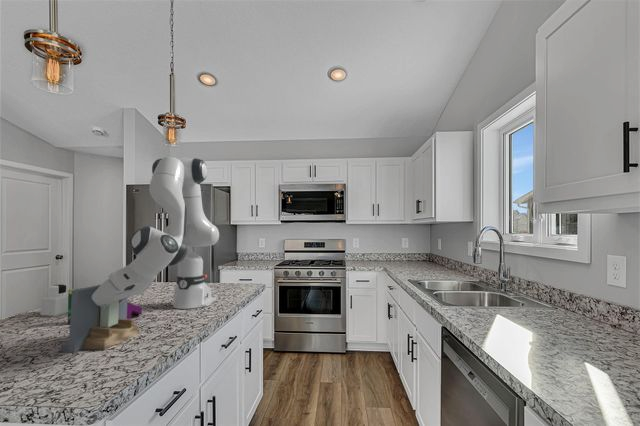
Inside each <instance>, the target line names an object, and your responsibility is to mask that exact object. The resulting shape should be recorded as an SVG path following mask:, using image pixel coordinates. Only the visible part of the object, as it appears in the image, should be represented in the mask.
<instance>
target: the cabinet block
mask: <svg viewBox="0 0 640 426" xmlns="http://www.w3.org/2000/svg"><path fill="white" fill-rule="evenodd" d="M118 313H119V300H117V301H114V302H111V303H109V306H108V307H107V308H105V309H101V314H100V327H110V326H112V325H115V324H118Z"/></svg>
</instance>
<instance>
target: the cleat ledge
mask: <svg viewBox="0 0 640 426" xmlns="http://www.w3.org/2000/svg"><path fill="white" fill-rule="evenodd" d="M134 322H135V320H134V319H133V318H130V319H118V324H115V325H114V327H112V328H101V327H93V328H91V333H90V336H89V337H87V338H84V349H86V350H90V349H91V350H99V349H100V350H101V351H105V350H107V349H109V348H111V347H113V345H114V346H115V344H116V345H118V344H119V343H122V342H124V341H125V340H128V339H131V338H132V336H133V337H135V336H137V335H139V334H138V333H139V325H138V324H135V323H134Z"/></svg>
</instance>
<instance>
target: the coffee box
mask: <svg viewBox="0 0 640 426" xmlns="http://www.w3.org/2000/svg"><path fill="white" fill-rule="evenodd" d="M78 289H82V288H71V289H68V290H67V291H68V294H67V295H68V312H67V325H69V326H70V318H71V298H72V291H73V290H78Z"/></svg>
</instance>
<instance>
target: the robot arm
mask: <svg viewBox="0 0 640 426" xmlns="http://www.w3.org/2000/svg"><path fill="white" fill-rule="evenodd" d="M151 172H152V173H151V174H152V176H151V180H150V183H149V186H148V187H149V195H150V197H151V198H152V199H153V201H154V202H156V203H157V204H158V205H159V206H160V207H161V208H162V209H163V210H164V211H165V212H166V214H167V215H168V217H169V220H170V225H167V226H166V227H165V228H164V230H163V231H162V230H160V229H157V228H155V227H153V226H148V225H146V226H143V227H141V228H139V229H138V230H137V231H135V233H133V235H132V236H131V238H130V241H129V243H130V244H129V245H130V246H131V250H132V252H133V255H135V257H136V258H135V259H134V260H132V261H131V262H130V263H129V264H127V265H125V266H124V267H123V268H120V269H118V270H114V271H113V272H111V273H110V274H109V275H108V279H106V280H105V281H103V282H102V283H101V284H100V285H101V286H100V287H99V288H98V289H97V290H96V291H95V292H94V293H93V295H92V300H93V301H94V302H95V304H96V305H97V306H100V307H101V309H105V308H107V307H108V306H109V303H111V302H114V301H117V300H119V304H121V303H122V302H123V301H124V300H126V299H127V298H131V297H134V296H137V295H142V294H143V293H145V292H146V291H147V290H148V289H149V288H150V287H151V286H152V285H153V283H154V281H155V279H156V278H157V277H158V274H159V273H160V272H162V271H164V270H165V268H167V267H170V266H175V265H177V276H176V278H175V279H176V280H175V281H176V286H175V287H174V291H173V298H172V299H173V300H172V301H171V302H170V305H171V306H172V307H173V308H174V309H180V310H181V309H183V310H188V309H197V308H203V307H205V308H206V307H209V306H210V305H211V304H213V302H216V300H217V297H215V296H212V288H211V287H210V286H209V285H208V284H207V283H205V280H206V279H207V277H208V274H203V272H204V260H203V258H202V257H201V256H200V255H199V254H198V253H195V252H194V251H193V249H192V247H200V248H201V247H202V248H203V247H204V248H205V247H210V246H214V245H216V244H217V243H218V241H219V238H220V232H219V231H220V230H219V228H218V227H217V226H216V225H214V224H213V223H212V222H211V221H210V220H209V219H208V218H207V217H206V215H205V212H204V207H203V200H202V189H201V183H203V182H204V181H205V180H206V178H207V174H208V168H207V164H206V162H205V161H204V160H203V159H201V158H192V157H191V158H189V157H175V156H165V157H163V158H157V159H156V160H155V161H154V162H153V163H152V166H151ZM187 221H188V222H189V223H187ZM127 300H128V299H127Z"/></svg>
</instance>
